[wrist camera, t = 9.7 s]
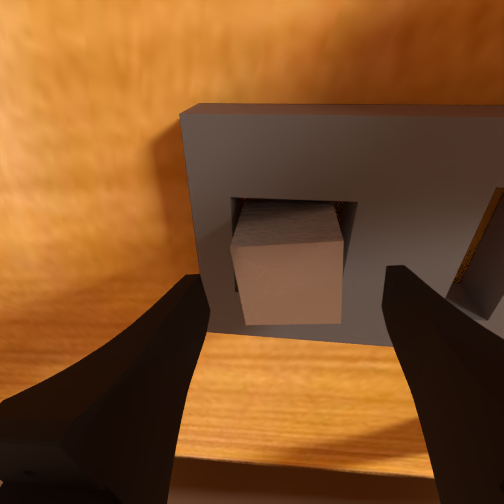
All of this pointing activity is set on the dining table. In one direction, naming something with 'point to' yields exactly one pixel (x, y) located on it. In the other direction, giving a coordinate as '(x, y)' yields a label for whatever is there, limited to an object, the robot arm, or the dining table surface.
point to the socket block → (354, 201)
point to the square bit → (288, 262)
